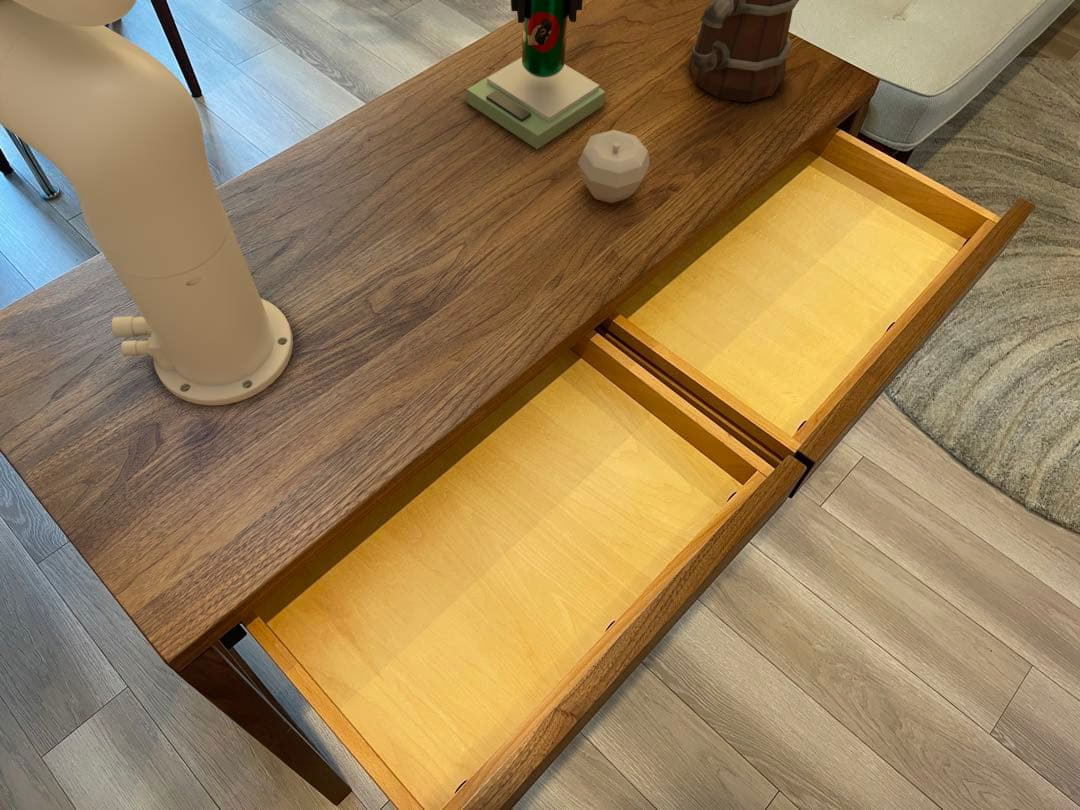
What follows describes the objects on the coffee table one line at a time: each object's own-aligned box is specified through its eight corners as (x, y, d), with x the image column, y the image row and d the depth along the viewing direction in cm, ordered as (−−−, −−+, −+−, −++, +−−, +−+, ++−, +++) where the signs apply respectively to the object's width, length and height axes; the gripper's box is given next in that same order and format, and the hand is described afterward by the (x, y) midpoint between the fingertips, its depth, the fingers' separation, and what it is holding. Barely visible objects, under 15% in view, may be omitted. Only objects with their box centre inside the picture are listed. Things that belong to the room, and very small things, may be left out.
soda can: (571, 73, 93) (580, -29, 83) (534, 84, 92) (539, -17, 81) (550, 50, 95) (556, -51, 85) (514, 61, 94) (515, -41, 84)
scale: (537, 149, 92) (538, 131, 90) (467, 103, 96) (466, 84, 94) (603, 105, 97) (606, 87, 95) (534, 62, 101) (535, 44, 99)
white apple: (605, 158, 92) (612, 110, 86) (658, 191, 89) (668, 144, 83) (560, 192, 88) (564, 144, 83) (614, 227, 86) (621, 180, 80)
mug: (726, 37, 106) (756, -81, 93) (798, 78, 101) (840, -39, 89) (649, 83, 100) (669, -36, 87) (722, 130, 95) (755, 12, 83)
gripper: (464, -154, 70) (471, 36, 85) (651, -154, 71) (625, 33, 87) (460, -190, 74) (468, -2, 89) (638, -189, 75) (615, -4, 91)
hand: (546, 14), depth 88 cm, fingers closed on soda can, 5 cm apart
